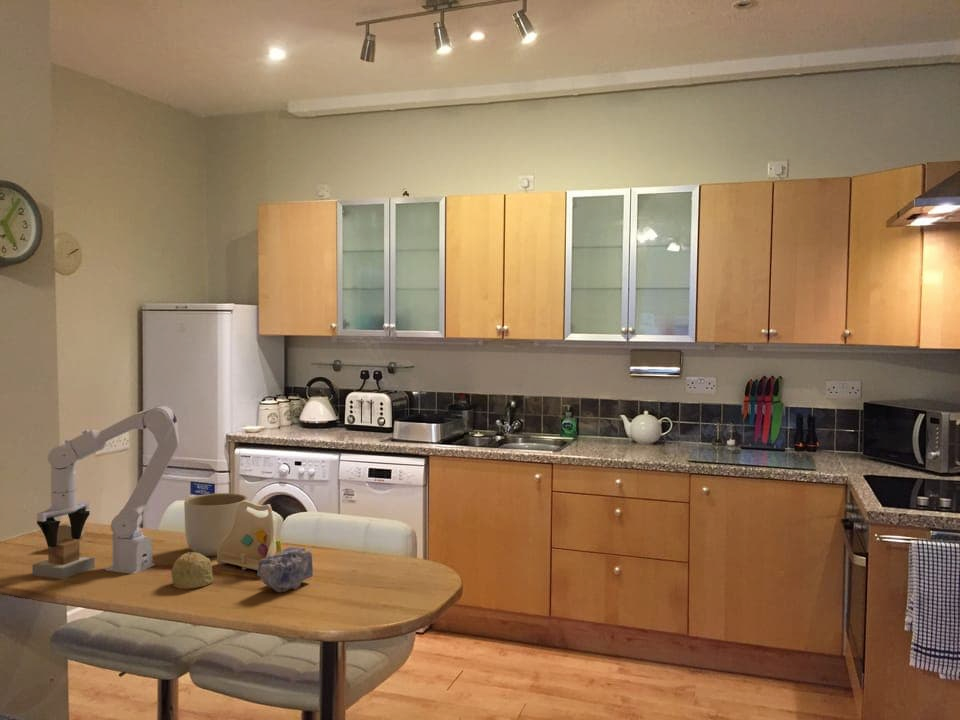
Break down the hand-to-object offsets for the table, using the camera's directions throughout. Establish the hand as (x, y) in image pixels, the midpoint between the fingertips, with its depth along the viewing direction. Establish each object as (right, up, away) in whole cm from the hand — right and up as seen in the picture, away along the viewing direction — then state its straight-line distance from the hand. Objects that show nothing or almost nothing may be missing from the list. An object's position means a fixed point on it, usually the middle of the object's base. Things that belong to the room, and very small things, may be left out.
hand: (64, 542), depth 195 cm
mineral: (+60, -9, -12) cm, 62 cm away
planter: (+32, -8, +21) cm, 39 cm away
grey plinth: (0, -8, 0) cm, 8 cm away
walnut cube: (0, -5, 0) cm, 5 cm away
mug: (-12, -8, +25) cm, 29 cm away
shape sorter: (+48, -9, +6) cm, 49 cm away
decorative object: (+39, -9, -8) cm, 41 cm away
